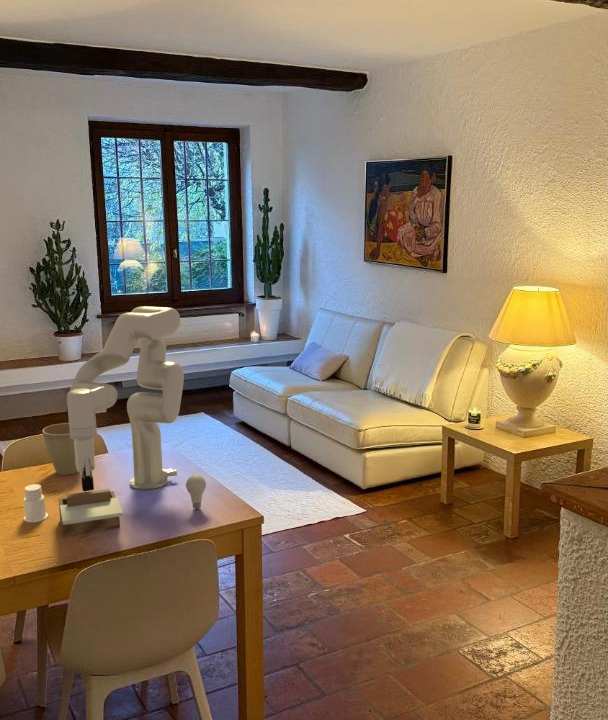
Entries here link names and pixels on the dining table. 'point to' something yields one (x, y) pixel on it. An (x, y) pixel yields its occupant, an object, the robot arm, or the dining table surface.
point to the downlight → (34, 504)
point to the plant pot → (60, 448)
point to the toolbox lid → (90, 507)
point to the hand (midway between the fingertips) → (88, 489)
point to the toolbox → (88, 523)
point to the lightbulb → (196, 489)
